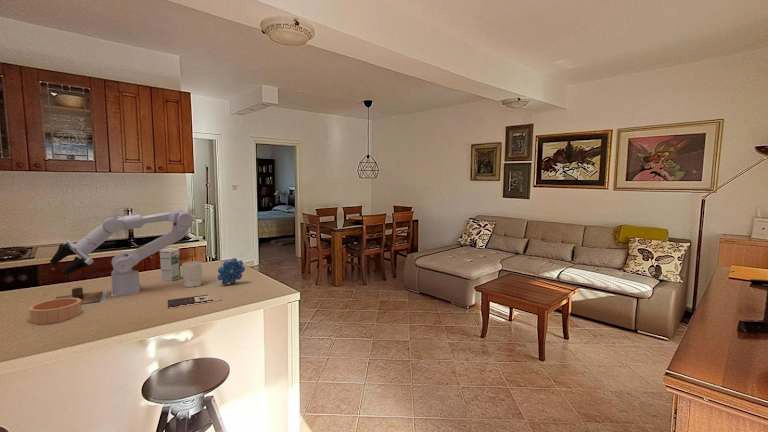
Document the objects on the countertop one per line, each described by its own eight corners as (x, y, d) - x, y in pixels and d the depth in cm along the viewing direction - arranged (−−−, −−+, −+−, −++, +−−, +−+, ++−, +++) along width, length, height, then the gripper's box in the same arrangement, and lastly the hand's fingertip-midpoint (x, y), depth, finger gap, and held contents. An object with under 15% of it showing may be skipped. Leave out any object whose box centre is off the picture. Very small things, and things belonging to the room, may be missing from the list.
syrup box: (171, 281, 165) (170, 250, 163) (160, 280, 166) (159, 249, 165) (181, 278, 170) (179, 248, 169) (170, 277, 172) (169, 247, 170)
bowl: (83, 307, 130) (83, 295, 129) (79, 318, 119) (78, 305, 119) (34, 314, 122) (33, 301, 122) (25, 327, 112) (24, 313, 111)
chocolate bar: (167, 300, 138) (218, 293, 147) (167, 302, 138) (218, 295, 147) (168, 307, 130) (221, 299, 139) (168, 309, 130) (221, 301, 140)
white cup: (189, 288, 154) (188, 266, 153) (179, 285, 158) (178, 263, 157) (206, 284, 161) (205, 262, 160) (196, 281, 165) (195, 260, 164)
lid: (102, 292, 146) (101, 281, 145) (100, 302, 134) (99, 290, 134) (56, 298, 138) (55, 287, 137) (49, 309, 126) (48, 296, 126)
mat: (107, 291, 148) (107, 291, 148) (104, 303, 134) (104, 302, 134) (52, 299, 138) (52, 298, 138) (43, 312, 124) (43, 311, 124)
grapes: (243, 280, 168) (242, 255, 167) (246, 283, 162) (245, 258, 161) (216, 283, 162) (215, 257, 161) (218, 287, 156) (217, 260, 155)
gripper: (72, 227, 137) (38, 253, 131) (95, 247, 133) (61, 275, 127) (85, 235, 143) (53, 261, 137) (107, 254, 139) (75, 281, 133)
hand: (57, 268), depth 132 cm, fingers open, 7 cm apart
